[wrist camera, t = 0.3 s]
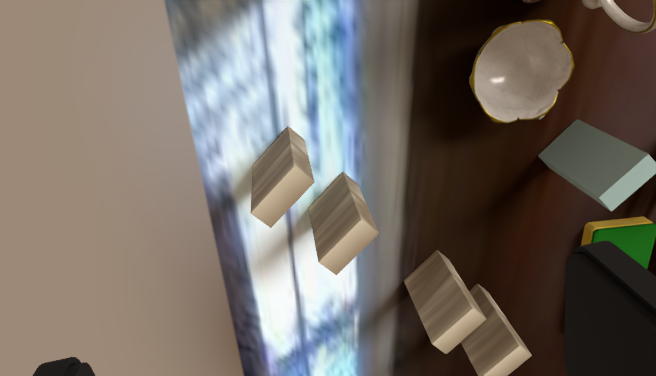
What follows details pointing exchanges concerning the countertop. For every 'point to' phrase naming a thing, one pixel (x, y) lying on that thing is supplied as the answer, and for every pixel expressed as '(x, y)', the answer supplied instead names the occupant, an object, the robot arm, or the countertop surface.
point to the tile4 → (443, 302)
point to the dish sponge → (624, 236)
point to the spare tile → (598, 163)
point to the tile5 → (493, 340)
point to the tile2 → (341, 223)
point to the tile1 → (280, 177)
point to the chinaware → (531, 65)
